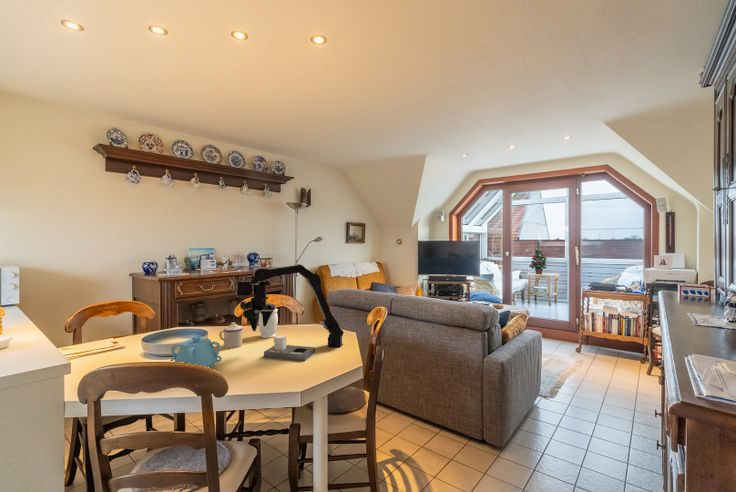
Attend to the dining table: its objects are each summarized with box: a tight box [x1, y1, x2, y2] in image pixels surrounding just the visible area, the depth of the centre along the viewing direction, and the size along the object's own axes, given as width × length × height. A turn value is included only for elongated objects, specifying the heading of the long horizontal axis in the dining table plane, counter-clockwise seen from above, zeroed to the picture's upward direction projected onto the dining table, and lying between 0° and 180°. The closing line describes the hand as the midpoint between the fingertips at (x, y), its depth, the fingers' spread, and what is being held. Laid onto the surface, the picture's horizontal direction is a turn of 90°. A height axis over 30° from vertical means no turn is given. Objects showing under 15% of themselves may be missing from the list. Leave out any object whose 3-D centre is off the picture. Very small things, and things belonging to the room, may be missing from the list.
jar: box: [258, 307, 279, 339], centre depth 191 cm, size 11×10×15 cm
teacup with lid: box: [219, 322, 244, 349], centre depth 174 cm, size 12×9×12 cm
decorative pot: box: [169, 335, 222, 369], centre depth 141 cm, size 16×16×14 cm
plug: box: [273, 335, 287, 351], centre depth 161 cm, size 5×4×8 cm
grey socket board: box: [263, 344, 316, 362], centre depth 159 cm, size 20×12×3 cm, turn 78°
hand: (259, 328), depth 159 cm, fingers open, 9 cm apart
